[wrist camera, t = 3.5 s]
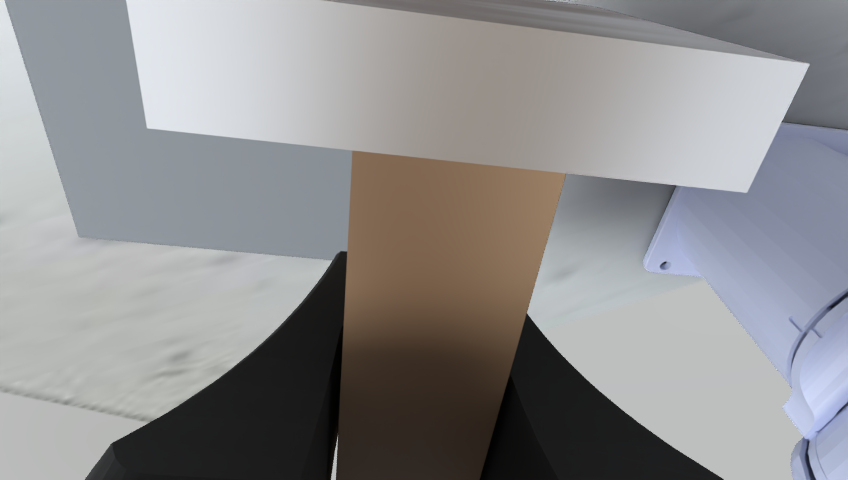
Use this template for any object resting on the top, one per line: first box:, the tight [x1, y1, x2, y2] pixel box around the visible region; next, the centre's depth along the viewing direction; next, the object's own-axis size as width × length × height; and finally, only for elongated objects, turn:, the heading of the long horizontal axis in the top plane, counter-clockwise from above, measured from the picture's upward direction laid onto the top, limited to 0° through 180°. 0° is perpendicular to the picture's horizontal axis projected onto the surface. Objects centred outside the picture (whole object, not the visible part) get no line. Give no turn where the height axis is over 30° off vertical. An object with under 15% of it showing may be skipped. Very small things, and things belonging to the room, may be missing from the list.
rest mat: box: [5, 0, 352, 260], centre depth 19 cm, size 14×16×1 cm
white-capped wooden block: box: [126, 0, 810, 480], centre depth 11 cm, size 7×12×7 cm, turn 173°
